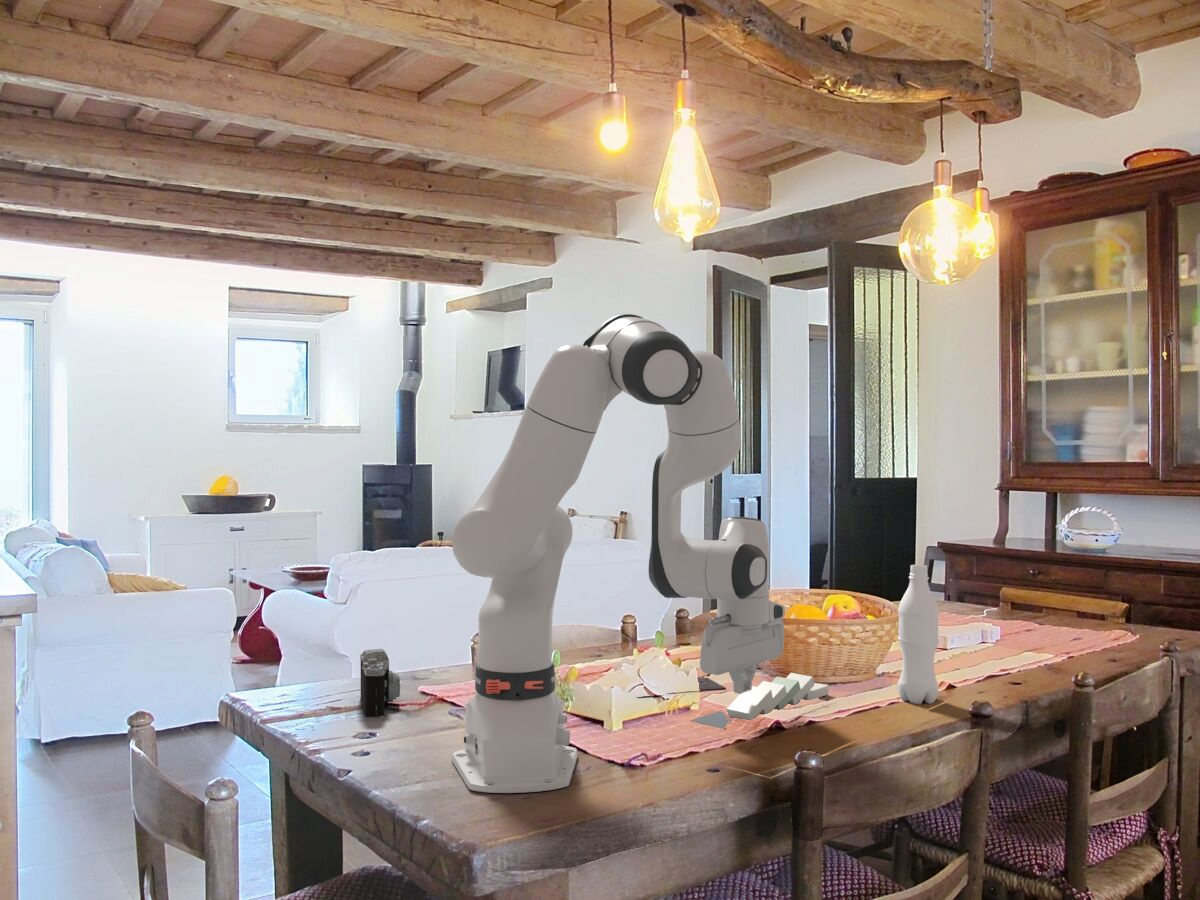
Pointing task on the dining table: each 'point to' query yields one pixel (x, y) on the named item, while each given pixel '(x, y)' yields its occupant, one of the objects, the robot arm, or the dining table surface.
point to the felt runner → (714, 719)
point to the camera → (377, 682)
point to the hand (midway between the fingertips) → (742, 691)
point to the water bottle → (918, 639)
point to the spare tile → (791, 689)
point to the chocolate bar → (709, 685)
